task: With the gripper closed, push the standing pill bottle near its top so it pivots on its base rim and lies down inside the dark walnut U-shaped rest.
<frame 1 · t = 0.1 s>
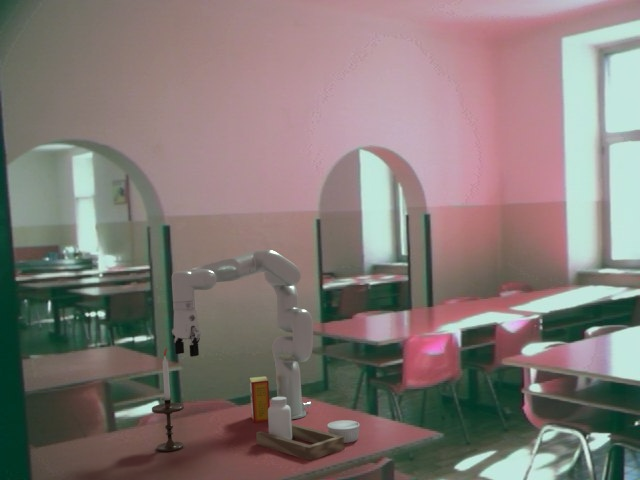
hand: (187, 354, 250), 31 cm above the table, fingers open, 9 cm apart
baking soda box: (261, 419, 278), on the table
pill bottle: (281, 441, 247), on the table
candlestick: (170, 448, 246), on the table
ramekin: (344, 440, 245), on the table
u rest: (297, 446, 240), on the table
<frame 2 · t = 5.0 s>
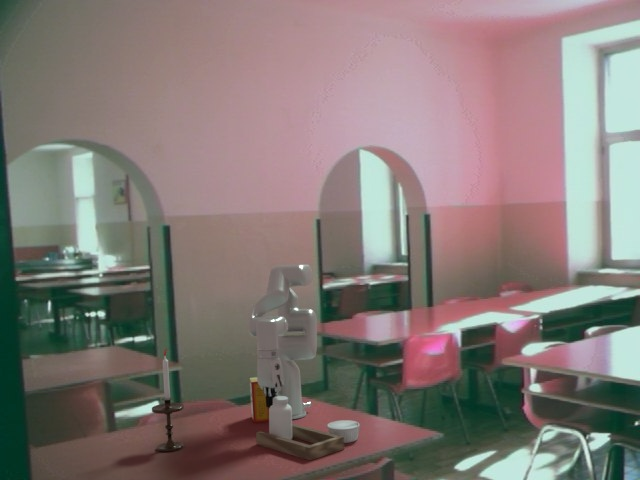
hand: (271, 406, 249), 11 cm above the table, fingers closed
pill bottle: (281, 440, 247), on the table, touching gripper
everything else where it was.
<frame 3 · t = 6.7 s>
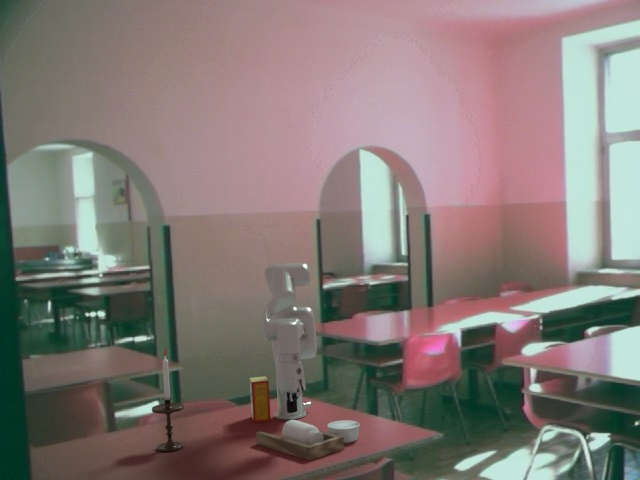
hand: (292, 412, 241), 11 cm above the table, fingers closed
pill bottle: (290, 430, 245), point 4 cm above the table
everything else where it was.
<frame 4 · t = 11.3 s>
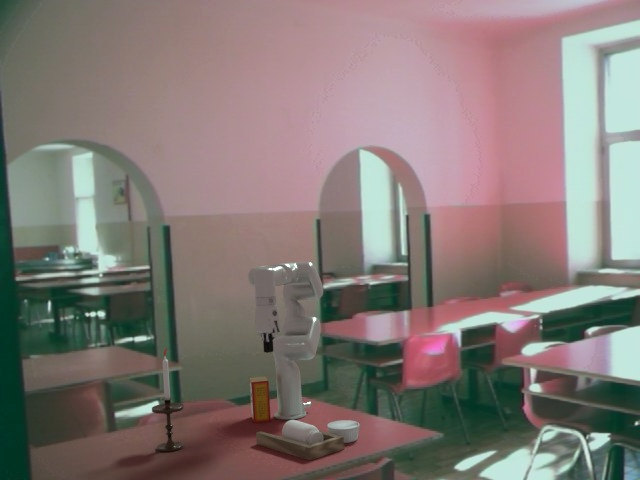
hand: (268, 351, 259), 29 cm above the table, fingers closed
nothing on the table moved.
at the end: pill bottle tilted 91°; pill bottle inside the target area on the u rest (5.7 cm from its centre), point 4.0 cm above the u rest's base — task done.
